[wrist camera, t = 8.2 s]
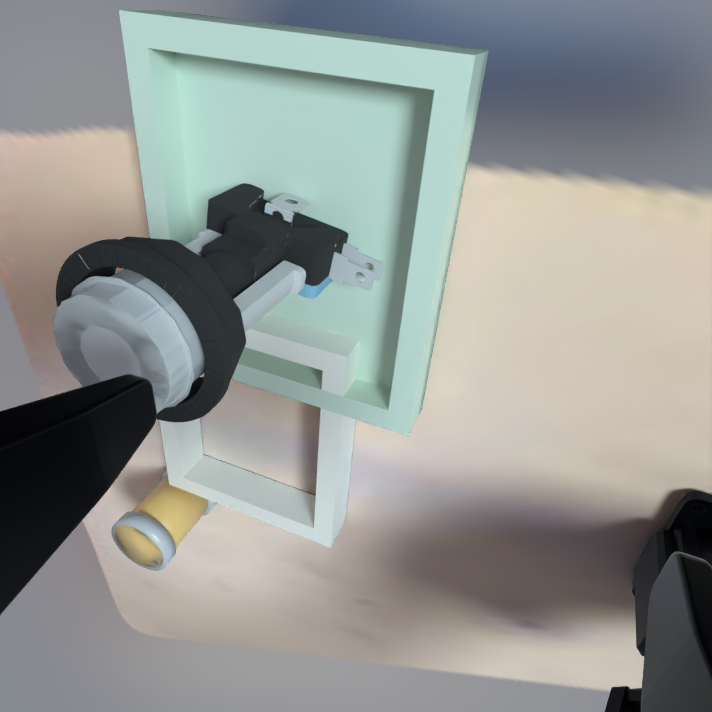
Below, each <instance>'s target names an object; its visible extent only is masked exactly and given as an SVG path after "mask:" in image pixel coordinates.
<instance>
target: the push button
mask: <svg viewBox="0 0 712 712" xmlns="http://www.w3.org/2000/svg"><path fill="white" fill-rule="evenodd" d="M263 197H264V190H263V189H261V188H259V187H256V186H254V185H251V184H246V183H243V184H240V185H238V186H235V187H233V188H231V189H229V190H227V191H225V192H223V193H221V194H219V195H217V196H215V197H212V198H210V199H209V200H208V211H207V226H206V230H204V231H202V232H201V233H199V235H198V238H197V239H195V240H193V241H191V242H190V243H188V244H186V245H184V246H183V245H182V244H180V243H179V242H177V241H175V240H167V239H153V238H140V237H125V238H123V239H121V240H117V239H109V240H101V241H97V242H94V243H92V244H89V245H87V246H85V247H83V248H81V249H79V250H77V251H75V252H74V253H73V254H72V255H70V256H69V257H68V259H67V260H66V261H65V262H64V264H63V266H62V267H61V270H60V272H59V275H58V280H57V286H56V301H57V313H56V316H55V318H54V320H53V322H54V335H55V338H56V345H57V347H58V349H59V351H60V353H61V355H62V358H63V361H64V363H65V364H66V366H67V367H68V369H69V371H70V372H71V373H72V374H73V376H74V377H75V378H76V379H77V380H78V381H79V382H80V384H81V385H82V386H83V387H85V386H88V385H92V384H95V383H98V382H102V381H105V380H109V379H112V378H115V377H119V376H122V375H126V374H134V375H137V376H140V377H143V378H146V379H148V380H149V381H150V382H151V383H152V386H153V392H154V398H155V404H156V410H157V418H156V419H158V420H162V421H167V422H188V421H192V420H196V419H198V418H200V417H203V416H204V415H206V414H207V413H208V412H209V411H211V410H212V409H213V408H214V407H215V406H216V405H217V404H218V403H219V402H220V400H221V399H222V398H223V396H224V395H225V393H226V391H227V389H228V386H229V383H230V380H231V379H232V377H233V374H234V372H235V369H236V367H237V364H238V362H239V359H240V357H241V355H242V352H243V350H244V347H245V345H246V336H245V332H246V331H248V330H249V329H250V328H251V327H252V326H253V325H254V324H255V323H257V322H258V321H259V320H260V319H261V318H262V317H263V316H265V315H266V314H267V313H268V312H269V311H270V310H271V309H272V308H274V307H275V306H276V305H277V304H278V303H279V302H280V301H282V300H283V299H284V298H285V297H286V296H287V295H288V294H289V293H292V294H298V295H300V296H303V297H306V298H315V297H317V296H318V295H319V294H320V293H321V292H322V291H323V290H324V289H325V288H326V287H327V286H328V285H329V284H330V283H331V282H332V281H336V282H338V283H341V284H343V282H344V281H345V282H348V283H350V284H352V285H355V286H357V287H360V288H362V289H365V290H367V291H369V290H371V289H372V285H373V282H374V280H375V281H378V280H380V277H381V274H382V270H383V267H384V264H383V262H381V261H378V260H376V259H373V258H371V257H368V256H366V255H363V254H361V253H358V250H359V249H358V248H356V247H353V246H351V245H348V244H347V239H348V233H347V232H346V231H344V230H341V229H339V228H336V227H334V226H331V225H329V224H326V223H324V222H321V221H319V220H316V219H313V218H311V217H308V216H306V215H303V214H301V213H298V212H299V211H301V210H302V209H304V208H305V207H307V206H308V205H309V203H308V201H307V200H304V199H302V198H299V197H296V196H294V195H291V194H285V193H283V194H281V195H280V196H278V197H276V198H274V199H273V200H271V201H268V200H265V199H263ZM286 200H292V201H295V202H297V203H298V204H290V203H287V202H286ZM366 263H371V264H372V265H373V266H374V271H372V270H369V269H367V268H365V264H366ZM117 267H119V268H124V269H123V270H122V271H120V272H118V273H116V274H115V271H116V268H117ZM356 273H358V274H360V275H363V276H365V278H366V279H365V281H364V282H360V281H358V280H357V279H356ZM204 372H205V375H204V377H199V376H200V375H202V374H203V373H204Z"/></svg>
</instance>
